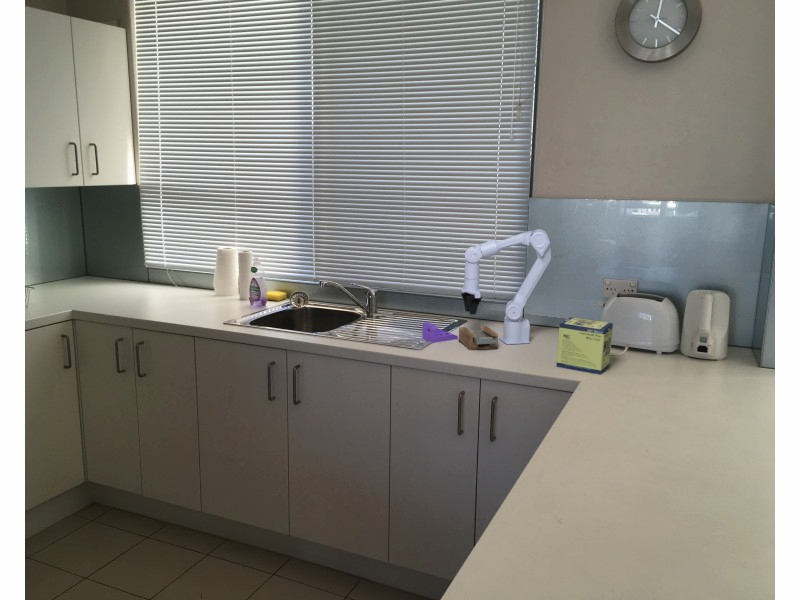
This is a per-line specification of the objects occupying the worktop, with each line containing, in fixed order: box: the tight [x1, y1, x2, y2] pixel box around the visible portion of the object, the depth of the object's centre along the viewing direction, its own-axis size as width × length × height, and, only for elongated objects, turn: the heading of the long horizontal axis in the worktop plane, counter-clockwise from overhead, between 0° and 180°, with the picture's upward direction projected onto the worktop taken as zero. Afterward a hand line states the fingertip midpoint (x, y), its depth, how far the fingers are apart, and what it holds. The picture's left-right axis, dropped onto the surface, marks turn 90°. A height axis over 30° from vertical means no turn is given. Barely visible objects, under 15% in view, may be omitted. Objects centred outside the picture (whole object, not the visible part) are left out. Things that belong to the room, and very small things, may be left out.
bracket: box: [421, 321, 459, 344], centre depth 262 cm, size 12×7×7 cm, turn 122°
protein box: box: [555, 317, 614, 376], centre depth 229 cm, size 10×16×16 cm
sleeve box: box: [458, 325, 499, 351], centre depth 254 cm, size 11×12×6 cm
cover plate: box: [472, 330, 497, 344], centre depth 251 cm, size 8×12×2 cm, turn 14°
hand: (470, 312), depth 261 cm, fingers open, 4 cm apart
